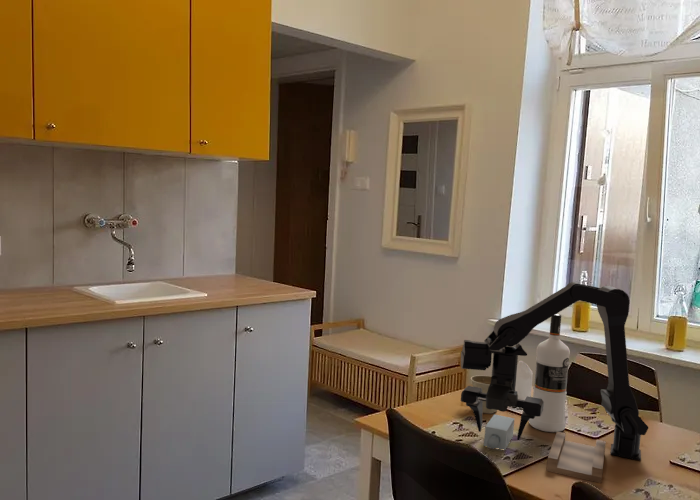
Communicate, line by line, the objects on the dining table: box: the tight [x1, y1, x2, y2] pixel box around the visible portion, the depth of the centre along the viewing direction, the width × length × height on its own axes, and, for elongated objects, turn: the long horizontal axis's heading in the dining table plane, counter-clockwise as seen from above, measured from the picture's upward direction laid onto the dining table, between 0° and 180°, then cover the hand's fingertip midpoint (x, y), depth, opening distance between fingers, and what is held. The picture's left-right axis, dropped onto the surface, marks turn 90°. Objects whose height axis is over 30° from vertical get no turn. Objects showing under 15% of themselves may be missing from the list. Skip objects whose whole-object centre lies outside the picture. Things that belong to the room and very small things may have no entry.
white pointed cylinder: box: [515, 360, 534, 400], centre depth 183 cm, size 6×12×6 cm
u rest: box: [546, 431, 606, 484], centre depth 139 cm, size 18×11×3 cm, turn 155°
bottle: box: [483, 413, 515, 450], centre depth 147 cm, size 13×5×5 cm, turn 155°
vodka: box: [528, 313, 571, 433], centre depth 160 cm, size 9×9×30 cm
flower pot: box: [470, 374, 498, 414], centre depth 171 cm, size 9×9×9 cm
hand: (499, 435), depth 148 cm, fingers open, 9 cm apart
